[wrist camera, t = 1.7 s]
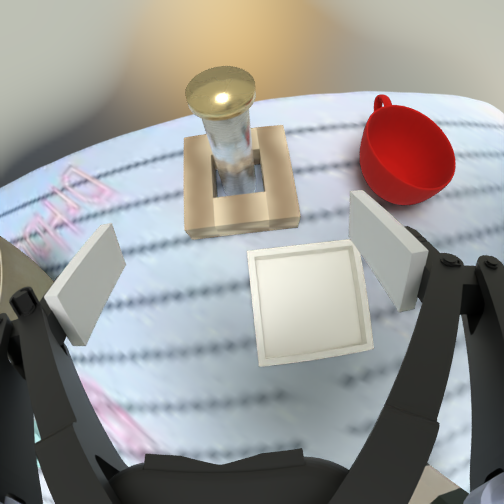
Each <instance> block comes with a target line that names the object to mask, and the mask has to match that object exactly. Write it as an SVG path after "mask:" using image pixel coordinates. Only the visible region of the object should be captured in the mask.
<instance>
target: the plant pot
mask: <svg viewBox="0 0 504 504" xmlns="http://www.w3.org/2000/svg"><path fill="white" fill-rule="evenodd" d="M53 282H54V281H53V280H52V279H51V278H50V277H49V276H48V275H47V274H46V273H45V272H44V271H43V270H42V269H41V268H40V267H39V266H38V265H37V264H36V263H35V262H33V261H32V260H31V259H30V258H29V257H28V256H26V255H25V254H24V253H23V252H21V251H20V250H19V249H18V248H16V247H15V246H14V245H12V244H11V243H10V242H8V241H7V240H5V239H4V238H2V237H1V236H0V314H1V313H6V314H7V315H8V317H9V319H10V320H11V321H13V320H16V319H18V317H17V315H16V314H15V312H14V310H13V309H12V307H11V305H10V303H9V300H10V298H11V297H12V295H13V294H14V293H15V292H17V291H18V290H20V289H21V288H24V287H28V286H29V287H32V289H33V291H34V293H35V295H36V297H37V299H38V300H39V302H40V300H41V299H42V297H43V296H44V294H45V293H46V292H47V290H48V289H50V286H51V285H52V284H53Z"/></svg>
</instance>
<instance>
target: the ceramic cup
mask: <svg viewBox="0 0 504 504" xmlns="http://www.w3.org/2000/svg"><path fill="white" fill-rule="evenodd" d="M382 103H383V104H384V107H382ZM360 166H361V170H362V174H363V176H364V178H365V180H366V182H367V184H368V185H369V187H370V188H371V189H372V190H373V191H374V193H376V194H377V195H378V196H379V197H381V198H382V199H384V200H386V201H388V202H391V203H393V204H398V205H413V204H417V203H420V202H423V201H425V200H427V199H429V198H431V197H432V196H434V195H435V194H437V193H438V192H440V191H441V190H442V189H444V188H445V187H446V186H447V185H448V184H449V182H450V181H451V180H452V178H453V176H454V172H455V167H456V166H455V156H454V151H453V149H452V146H451V144H450V142H449V140H448V138H447V137H446V135H445V134H444V133H443V131H442V130H441V129H440V128H439V127H438V126H437V125H436V124H435V123H434V122H433V121H432V120H431V119H430V118H428V117H427V116H425V115H424V114H422V113H420V112H419V111H416V110H414V109H412V108H409V107H405V106H399V105H392V103H391V100H390V99H389V97H388V96H386V95H378V96H377V97H376V98H375V101H374V112H373V113H372V114H371V115H370V117H369V119H368V121H367V123H366V126H365V129H364V132H363V136H362V141H361V146H360Z"/></svg>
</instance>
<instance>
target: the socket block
mask: <svg viewBox="0 0 504 504" xmlns="http://www.w3.org/2000/svg"><path fill="white" fill-rule="evenodd" d="M251 138H252V148H253V159H254V165H257V164H260V165H261V172H262V180H263V187H264V192H257V193H248V194H240V195H232V196H224V197H217V184H216V170H217V166H216V163H215V160H214V156H213V153H212V150H211V147H210V144H209V140H208V137H207V134H204V135H198V136H192V137H186V138H184V228H185V231H186V233H187V234H188V235H189V236H190V237H191V239H192V240H195V239H203V238H211V237H219V236H228V235H236V234H244V233H253V232H262V231H270V230H279V229H288V228H298V224H299V220H300V217H301V216H300V210H299V204H298V199H297V193H296V188H295V182H294V177H293V172H292V167H291V161H290V156H289V151H288V146H287V142H286V137H285V132H284V127H283V125H277V126H266V127H256V128H251Z"/></svg>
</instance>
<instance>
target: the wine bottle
mask: <svg viewBox="0 0 504 504" xmlns="http://www.w3.org/2000/svg"><path fill="white" fill-rule="evenodd" d="M468 495H469V493H467V492H466V491H464V490H463V489H462V488H460V487H459V486H457V485H456V484H455V483H453V482H452V481H451V480H449V479H448V478H446V477H445V476H444V475H442V474H441V473H440V472H438V471H437V470H436V469H434V468H433V467H432V466H430V465H429V464H428V463H427V464H426V466H425V469H424V471H423V473H422V476H421V478H420V480H419V482H418V485H417V487H416V489H415V491H414V493H413V495H412V497H411V499H410V501H409V503H408V504H463V503H464V501H465V499H466V498H467V496H468Z"/></svg>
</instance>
